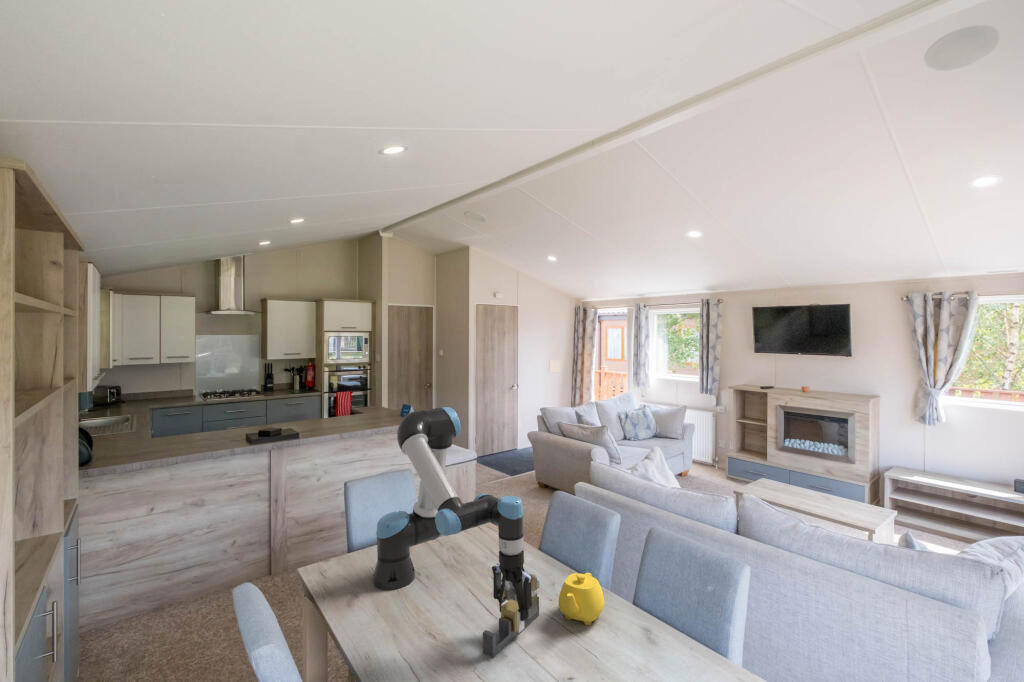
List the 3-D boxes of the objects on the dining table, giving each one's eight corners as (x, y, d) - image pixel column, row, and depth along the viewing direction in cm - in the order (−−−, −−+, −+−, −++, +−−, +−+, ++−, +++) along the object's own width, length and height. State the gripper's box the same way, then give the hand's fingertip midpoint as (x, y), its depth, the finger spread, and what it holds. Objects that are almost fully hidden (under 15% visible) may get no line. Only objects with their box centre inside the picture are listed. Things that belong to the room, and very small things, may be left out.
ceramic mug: (524, 599, 161) (524, 577, 161) (507, 590, 167) (507, 568, 167) (545, 588, 168) (545, 566, 168) (528, 579, 174) (528, 559, 174)
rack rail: (483, 653, 134) (482, 632, 134) (529, 611, 154) (529, 593, 154) (493, 658, 132) (492, 636, 132) (539, 615, 152) (538, 596, 152)
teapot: (610, 606, 156) (610, 568, 156) (590, 641, 139) (589, 598, 138) (571, 596, 163) (570, 559, 163) (547, 628, 145) (546, 587, 145)
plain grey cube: (515, 614, 149) (515, 595, 149) (524, 606, 153) (524, 588, 153) (528, 619, 146) (528, 600, 146) (537, 611, 150) (537, 592, 150)
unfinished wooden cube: (501, 626, 142) (500, 606, 142) (510, 618, 146) (510, 599, 146) (514, 632, 140) (514, 612, 139) (524, 623, 144) (523, 604, 144)
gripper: (480, 547, 145) (481, 623, 145) (529, 562, 134) (531, 644, 135) (495, 538, 151) (496, 611, 151) (543, 552, 141) (545, 630, 141)
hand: (512, 626), depth 143 cm, fingers closed on unfinished wooden cube, 5 cm apart
